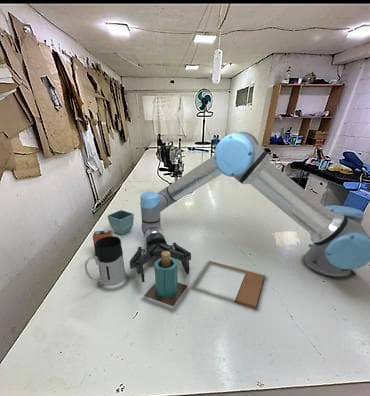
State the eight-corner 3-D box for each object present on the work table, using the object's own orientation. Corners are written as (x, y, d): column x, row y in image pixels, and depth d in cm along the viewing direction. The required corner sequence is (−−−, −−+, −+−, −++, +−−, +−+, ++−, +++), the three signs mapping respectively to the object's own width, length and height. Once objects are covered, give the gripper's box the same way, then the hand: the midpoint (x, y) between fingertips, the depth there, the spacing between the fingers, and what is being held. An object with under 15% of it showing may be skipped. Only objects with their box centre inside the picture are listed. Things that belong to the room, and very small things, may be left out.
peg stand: (188, 289, 75) (188, 248, 69) (173, 310, 67) (172, 266, 61) (161, 280, 79) (159, 241, 73) (144, 299, 71) (140, 257, 65)
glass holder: (132, 277, 81) (128, 238, 74) (102, 304, 69) (95, 261, 63) (112, 270, 84) (107, 233, 78) (81, 295, 72) (71, 253, 66)
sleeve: (180, 287, 74) (180, 260, 70) (170, 300, 69) (170, 272, 65) (162, 281, 76) (162, 255, 72) (152, 293, 71) (150, 266, 67)
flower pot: (122, 238, 106) (120, 219, 103) (108, 233, 111) (106, 215, 107) (135, 230, 113) (134, 213, 109) (122, 226, 117) (121, 209, 114)
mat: (264, 277, 81) (264, 275, 81) (255, 308, 68) (256, 306, 68) (209, 263, 89) (209, 260, 89) (192, 288, 76) (192, 286, 75)
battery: (113, 255, 93) (110, 232, 89) (95, 256, 92) (91, 234, 88) (114, 249, 97) (111, 227, 93) (97, 250, 96) (93, 228, 92)
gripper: (186, 245, 93) (204, 278, 75) (122, 254, 87) (124, 291, 69) (187, 228, 90) (206, 258, 72) (120, 236, 84) (121, 270, 66)
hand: (166, 274), depth 70 cm, fingers open, 13 cm apart
